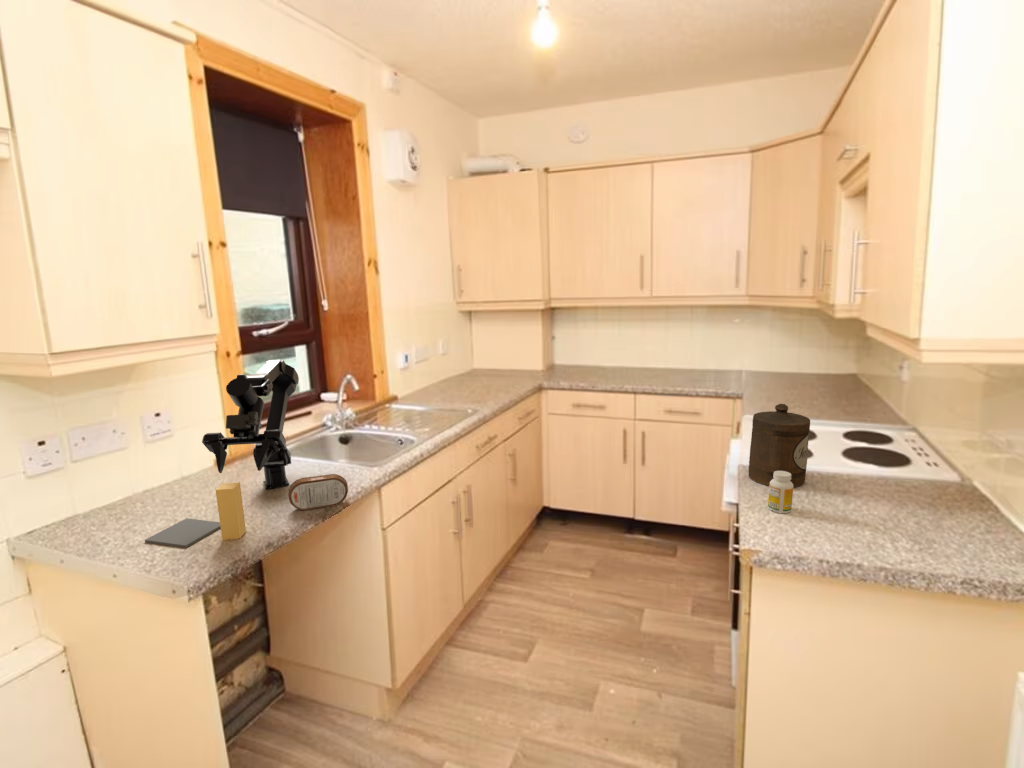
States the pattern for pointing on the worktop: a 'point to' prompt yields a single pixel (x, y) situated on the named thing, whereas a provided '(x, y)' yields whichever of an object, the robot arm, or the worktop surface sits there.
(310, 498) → the tin
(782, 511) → the supplement bottle
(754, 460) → the wooden container
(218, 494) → the ochre post
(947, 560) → the worktop surface
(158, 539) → the charcoal mat
